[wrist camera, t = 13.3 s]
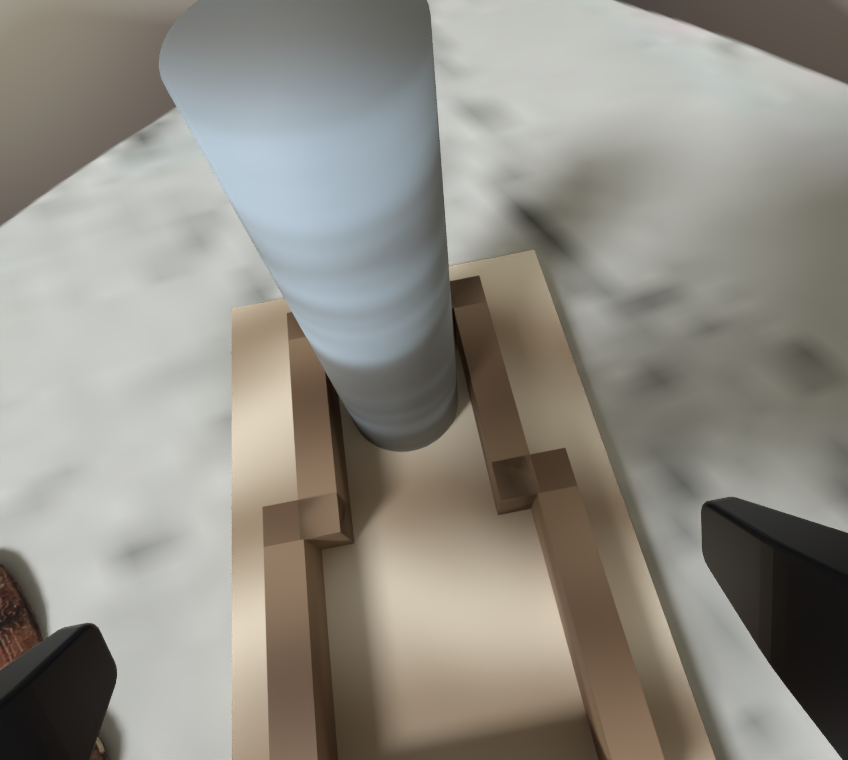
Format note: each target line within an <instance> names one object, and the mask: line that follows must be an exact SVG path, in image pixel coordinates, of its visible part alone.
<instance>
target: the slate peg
mask: <svg viewBox="0 0 848 760" xmlns="http://www.w3.org/2000/svg"><path fill="white" fill-rule="evenodd" d="M159 70H160V74H161V79H162V81H163V83H164V85H165V86H166V89H167V90H168V92H169V94H170V96H171V97H172V99H173V101H174V103H175V105H176V106H177V108H178V110H179V112H180V114H181V115H182V117H183V119H184V121H185V122H186V124H187V126H188V128H189V130H190V131H191V133H192V135H193V137H194V138H195V140H196V142H197V144H198V146H199V147H200V149H201V151H202V153H203V154H204V156H205V158H206V160H207V162H208V163H209V165H210V167H211V169H212V171H213V172H214V174H215V176H216V178H217V179H218V181H219V183H220V185H221V187H222V188H223V190H224V192H225V194H226V195H227V197H228V199H229V201H230V203H231V204H232V206H233V208H234V210H235V211H236V213H237V215H238V217H239V219H240V220H241V222H242V224H243V226H244V228H245V229H246V231H247V233H248V235H249V236H250V238H251V240H252V242H253V244H254V245H255V247H256V249H257V251H258V252H259V254H260V256H261V258H262V260H263V261H264V263H265V265H266V267H267V268H268V270H269V272H270V274H271V276H272V277H273V279H274V281H275V283H276V285H277V286H278V288H279V290H280V292H281V293H282V295H283V297H284V299H285V301H286V302H287V304H288V306H289V308H290V309H291V311H292V313H293V315H294V317H295V318H296V320H297V322H298V324H299V325H300V327H301V329H302V331H303V333H304V334H305V336H306V338H307V340H308V342H309V343H310V345H311V347H312V349H313V350H314V352H315V354H316V356H317V358H318V359H319V361H320V363H321V365H322V366H323V368H324V370H325V372H326V374H327V375H328V377H329V379H330V381H331V382H332V384H333V386H334V388H335V390H336V391H337V393H338V395H339V397H340V399H341V400H342V402H343V404H344V406H345V407H346V409H347V411H348V413H349V415H350V416H351V418H352V420H353V422H354V423H355V425H356V427H357V429H358V430H359V432H360V433H361V434H362V435H363V436H364V437H365V438H366V439H367V440H368V441H369V442H371V443H372V444H374V445H376V446H377V447H380V448H382V449H385V450H389V451H395V452H408V451H414V450H418V449H421V448H424V447H426V446H428V445H430V444H432V443H434V442H435V441H436V440H438V439H439V438H440V437H441V436H442V435H443V434H444V433H445V432H446V431H447V430H448V429H449V427H450V425H451V424H452V422H453V420H454V418H455V415H456V412H457V407H458V388H457V374H456V361H455V347H454V333H453V319H452V305H451V292H450V278H449V264H448V250H447V236H446V223H445V209H444V195H443V181H442V167H441V153H440V140H439V126H438V112H437V98H436V84H435V71H434V57H433V43H432V29H431V15H430V10H429V5H428V3H427V0H199V1H197V2H196V3H195V4H194V5H192V6H191V7H190V8H189V9H188V10H187V11H186V12H185V13H184V14H182V16H181V17H180V18H179V19H178V20H177V21H176V22H175V24H174V25H173V26H172V28H171V29H170V31H169V32H168V34H167V36H166V37H165V40H164V42H163V45H162V47H161V52H160V56H159Z"/></svg>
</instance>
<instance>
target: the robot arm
mask: <svg viewBox="0 0 848 760" xmlns="http://www.w3.org/2000/svg"><path fill="white" fill-rule="evenodd" d="M701 525H702V552H703V556H704V559H705V562H706V564H707V566H708V568H709V569H710V571H711V572H712V574H713V576H714V577H715V579H716V580H717V582H718V584H719V585H720V587H721V588H722V590H723V592H724V593H725V595H726V596H727V598H728V599H729V601H730V603H731V604H732V606H733V607H734V609H735V611H736V612H737V614H738V615H739V617H740V619H741V620H742V622H743V623H744V625H745V626H746V628H747V630H748V631H749V633H750V634H751V636H752V638H753V639H754V641H755V642H756V644H757V646H758V647H759V649H760V650H761V652H762V653H763V655H764V656H765V658H766V659H767V661H768V662H769V664H770V665H771V666H772V668H773V669H774V671H775V672H776V673H777V675H778V676H779V677H780V679H781V680H782V681H783V683H784V684H785V685H786V687H787V688H788V689H789V691H790V692H791V693H792V694H793V696H794V697H795V698H796V700H797V701H798V702H799V704H800V705H801V706H802V707H803V709H804V710H805V711H806V713H807V714H808V715H809V717H810V718H811V719H812V720H813V722H814V723H815V724H816V726H817V727H818V728H819V730H820V731H821V732H822V733H823V735H824V736H825V737H826V739H827V740H828V741H829V743H830V744H831V745H832V746H833V748H834V749H835V750H836V752H837V753H838V754H839V756H840V757H841V758H842V759H843V760H848V533H846V532H843V531H840V530H837V529H834V528H830V527H827V526H824V525H821V524H818V523H815V522H811V521H808V520H805V519H802V518H799V517H796V516H793V515H789V514H786V513H783V512H780V511H777V510H774V509H770V508H767V507H764V506H761V505H758V504H755V503H752V502H748V501H745V500H742V499H739V498H736V497H726V498H721V499H716V500H711V501H707V502H705V503H704V504H703V506H702V510H701ZM116 679H117V668H116V664H115V661H114V659H113V657H112V655H111V653H110V651H109V649H108V647H107V644H106V642H105V640H104V638H103V636H102V634H101V632H100V630H99V628H98V627H97V626H96V625H94V624H92V623H84V624H79V625H74V626H69V627H64V628H62V629H60V630H58V631H56V632H55V633H53V634H52V635H51V636H49V637H48V638H46V639H45V640H43V641H42V642H40V643H39V644H37V645H36V646H34V647H33V648H31V649H30V650H28V651H27V652H26V653H24V654H23V655H21V656H20V657H18V658H17V659H15V660H14V661H12V662H11V663H9V664H8V665H6V666H5V667H3V668H2V669H0V760H90V758H91V755H92V753H93V750H94V747H95V744H96V741H97V738H98V735H99V732H100V729H101V726H102V723H103V720H104V717H105V714H106V711H107V708H108V705H109V702H110V699H111V696H112V693H113V690H114V687H115V684H116Z"/></svg>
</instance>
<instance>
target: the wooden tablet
mask: <svg viewBox="0 0 848 760" xmlns="http://www.w3.org/2000/svg"><path fill="white" fill-rule="evenodd" d="M40 642H42V639H41V634H40V632H39V628H38V625H37V623H36V619H35V615H34V613H33V612H32V610H31V608H30V605H29V603H28V602H27V600H26V598H25V597H24V596H23V595H22V592H21V589H20V588H19V586H18V585H17V583H16V582H15V581H14V580H13V578H12V577H11V576H10V574H9V573H8V572H7V571H6V569H5V568H4V567H3V565H1V564H0V669H2V668H3V667H5V666H6V665H8V664H9V663H11V662H12V661H14V660H15V659H17V658H18V657H20V656H21V655H23V654H24V653H26V652H27V651H28V650H30V649H31V648H33V647H34V646H36V645H37V644H39V643H40ZM90 760H106V752H105V749H104V743H103V742H102V741H101V740H100V739H99V737H98V738H97V741H96V744H95V747H94V750H93V753H92V755H91V758H90Z"/></svg>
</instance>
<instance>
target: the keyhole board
mask: <svg viewBox="0 0 848 760" xmlns="http://www.w3.org/2000/svg"><path fill="white" fill-rule="evenodd" d="M449 278H450V292H451V305H452V319H453V333H454V347H455V361H456V374H457V388H458V407H457V412H456V415H455V418H454V420H453V422H452V424H451V425H450V427H449V429H448V430H447V431H446V432H445V433H444V434H443V435H442V436H441V437H440V438H439V439H438V440H436V441H435V442H434V443H432V444H430V445H428V446H426V447H424V448H421V449H418V450H414V451H408V452H395V451H389V450H385V449H382V448H380V447H377V446H376V445H374V444H372V443H371V442H369V441H368V440H367V439H366V438H365V437H364V436H363V435H362V434H361V433H360V432H359V430H358V429H357V427H356V425H355V423H354V422H353V420H352V418H351V416H350V415H349V413H348V411H347V409H346V407H345V406H344V404H343V402H342V400H341V399H340V397H339V395H338V393H337V391H336V390H335V388H334V386H333V384H332V382H331V381H330V379H329V377H328V375H327V374H326V372H325V370H324V368H323V366H322V365H321V363H320V361H319V359H318V358H317V356H316V354H315V352H314V350H313V349H312V347H311V345H310V343H309V342H308V340H307V338H306V336H305V334H304V333H303V331H302V329H301V327H300V325H299V324H298V322H297V320H296V318H295V317H294V315H293V313H292V311H291V309H290V308H289V306H288V304H287V302H286V301H285V299H284V298H283V299H278V300H273V301H268V302H263V303H257V304H252V305H247V306H242V307H237V308H232V760H716V759H715V756H714V753H713V750H712V748H711V745H710V742H709V739H708V736H707V734H706V731H705V728H704V725H703V722H702V719H701V717H700V714H699V711H698V708H697V705H696V703H695V700H694V697H693V694H692V691H691V689H690V686H689V683H688V680H687V677H686V674H685V672H684V669H683V666H682V663H681V660H680V658H679V655H678V652H677V649H676V646H675V644H674V641H673V638H672V635H671V632H670V630H669V627H668V624H667V621H666V618H665V615H664V613H663V610H662V607H661V604H660V601H659V599H658V596H657V593H656V590H655V587H654V585H653V582H652V579H651V576H650V573H649V570H648V568H647V565H646V562H645V559H644V556H643V554H642V551H641V548H640V545H639V542H638V540H637V537H636V534H635V531H634V528H633V526H632V523H631V520H630V517H629V514H628V511H627V509H626V506H625V503H624V500H623V497H622V495H621V492H620V489H619V486H618V483H617V481H616V478H615V475H614V472H613V469H612V466H611V464H610V461H609V458H608V455H607V452H606V450H605V447H604V444H603V441H602V438H601V436H600V433H599V430H598V427H597V424H596V422H595V419H594V416H593V413H592V410H591V407H590V405H589V402H588V399H587V396H586V393H585V391H584V388H583V385H582V382H581V379H580V377H579V374H578V371H577V368H576V365H575V362H574V360H573V357H572V354H571V351H570V348H569V346H568V343H567V340H566V337H565V334H564V332H563V329H562V326H561V323H560V320H559V318H558V315H557V312H556V309H555V306H554V303H553V301H552V298H551V295H550V292H549V289H548V287H547V284H546V281H545V278H544V275H543V273H542V270H541V267H540V264H539V261H538V258H537V256H536V253H535V250H529V251H524V252H519V253H514V254H509V255H504V256H499V257H493V258H488V259H483V260H478V261H473V262H468V263H463V264H458V265H452V266H449Z"/></svg>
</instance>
